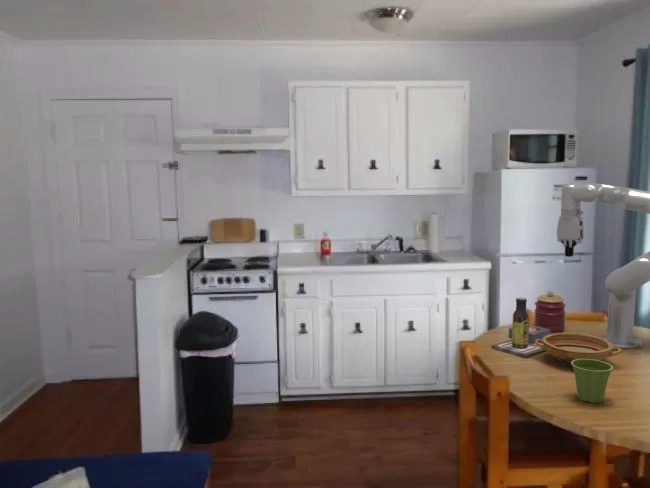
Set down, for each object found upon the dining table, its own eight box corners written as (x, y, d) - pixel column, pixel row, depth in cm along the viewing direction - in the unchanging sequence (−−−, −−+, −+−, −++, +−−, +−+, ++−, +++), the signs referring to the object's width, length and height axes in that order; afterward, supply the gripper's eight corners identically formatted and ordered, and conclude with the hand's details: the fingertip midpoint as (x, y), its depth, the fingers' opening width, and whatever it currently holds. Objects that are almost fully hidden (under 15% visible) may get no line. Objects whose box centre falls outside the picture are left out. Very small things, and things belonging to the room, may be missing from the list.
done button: (539, 335, 237) (539, 328, 236) (531, 338, 233) (531, 331, 233) (527, 332, 241) (527, 326, 241) (519, 335, 238) (519, 328, 238)
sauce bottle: (526, 350, 218) (527, 301, 215) (510, 347, 221) (511, 299, 218) (529, 345, 223) (531, 297, 221) (514, 343, 226) (515, 296, 224)
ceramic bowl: (530, 367, 202) (531, 346, 201) (537, 348, 224) (537, 329, 223) (622, 379, 189) (623, 356, 188) (619, 357, 211) (620, 337, 210)
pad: (547, 351, 220) (547, 347, 220) (525, 358, 212) (526, 355, 212) (512, 341, 233) (513, 338, 233) (491, 348, 225) (491, 345, 224)
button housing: (549, 338, 236) (550, 329, 236) (533, 343, 229) (533, 334, 229) (525, 332, 246) (525, 323, 245) (508, 337, 239) (508, 328, 239)
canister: (542, 324, 259) (543, 287, 256) (569, 329, 249) (571, 291, 247) (528, 329, 250) (529, 291, 248) (556, 335, 240) (558, 295, 238)
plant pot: (619, 400, 172) (620, 366, 170) (596, 409, 166) (598, 373, 164) (584, 388, 182) (585, 355, 180) (561, 396, 175) (563, 362, 174)
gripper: (592, 213, 229) (590, 257, 231) (559, 212, 241) (557, 253, 243) (582, 214, 225) (580, 259, 227) (549, 213, 237) (548, 255, 239)
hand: (569, 256), depth 235 cm, fingers closed
